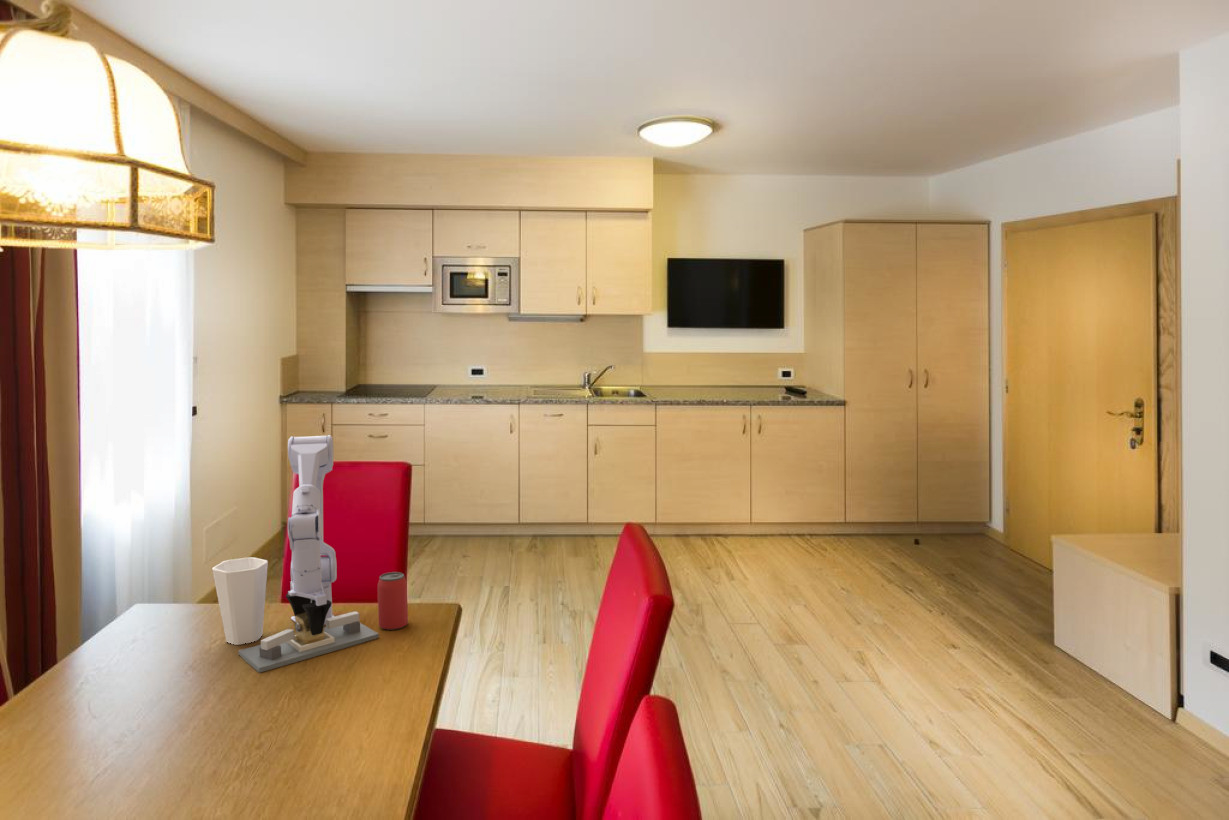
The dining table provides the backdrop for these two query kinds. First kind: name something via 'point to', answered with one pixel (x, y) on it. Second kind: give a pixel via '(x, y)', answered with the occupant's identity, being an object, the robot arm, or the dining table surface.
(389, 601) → the beer can
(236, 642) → the cup
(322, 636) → the block
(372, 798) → the dining table surface
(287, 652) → the shaft board
